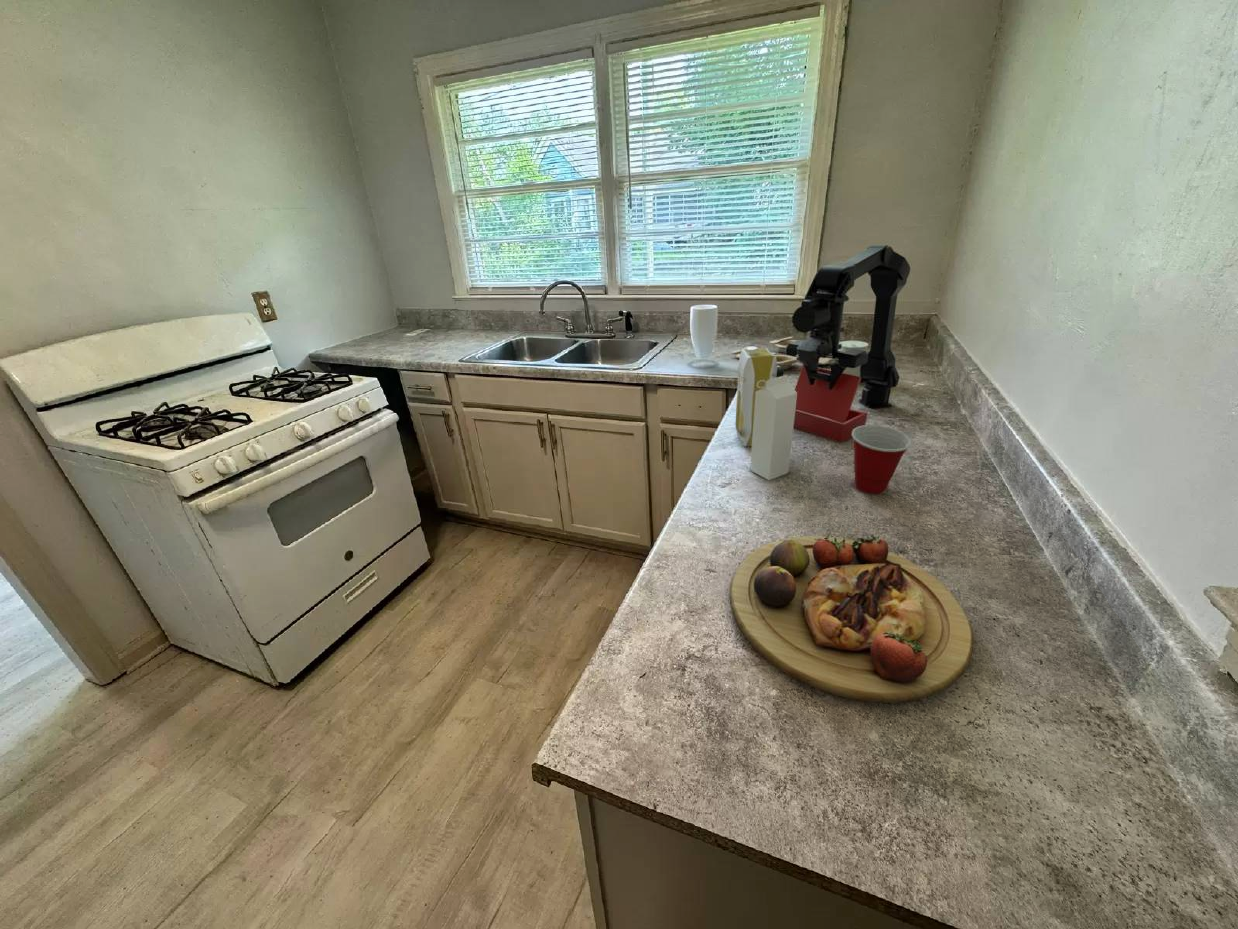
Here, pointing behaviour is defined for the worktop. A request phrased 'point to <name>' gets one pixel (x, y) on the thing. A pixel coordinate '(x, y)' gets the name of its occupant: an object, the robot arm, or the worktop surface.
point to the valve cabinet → (829, 424)
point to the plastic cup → (877, 456)
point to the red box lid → (826, 394)
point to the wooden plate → (851, 618)
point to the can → (853, 345)
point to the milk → (773, 428)
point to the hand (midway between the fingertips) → (821, 387)
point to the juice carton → (751, 387)
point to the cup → (703, 329)
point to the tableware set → (786, 360)
